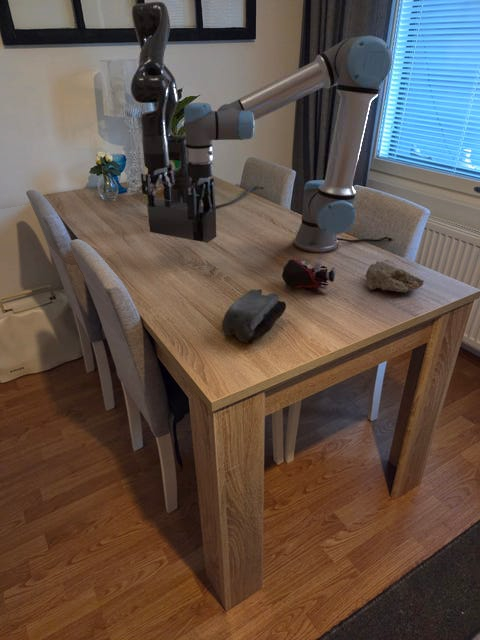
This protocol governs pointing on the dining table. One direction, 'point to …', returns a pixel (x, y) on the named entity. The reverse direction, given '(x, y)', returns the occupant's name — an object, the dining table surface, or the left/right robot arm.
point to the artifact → (391, 277)
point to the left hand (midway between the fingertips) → (160, 203)
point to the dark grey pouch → (252, 315)
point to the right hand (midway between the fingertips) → (203, 236)
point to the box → (180, 220)
